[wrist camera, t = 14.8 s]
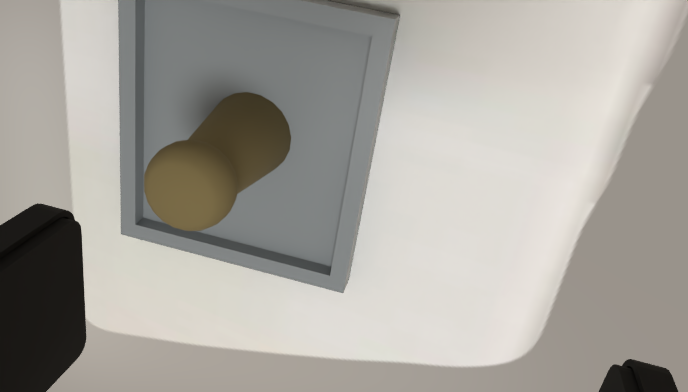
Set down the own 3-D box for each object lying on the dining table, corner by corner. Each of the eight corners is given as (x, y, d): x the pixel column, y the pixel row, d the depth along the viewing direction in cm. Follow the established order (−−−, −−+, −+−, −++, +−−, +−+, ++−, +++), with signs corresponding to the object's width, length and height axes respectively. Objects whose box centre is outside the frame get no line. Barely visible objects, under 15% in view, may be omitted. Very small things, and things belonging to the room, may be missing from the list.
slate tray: (134, -39, 39) (118, -37, 38) (400, 14, 37) (395, 19, 35) (134, 222, 48) (121, 234, 47) (348, 278, 46) (343, 293, 44)
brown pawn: (202, 155, 43) (118, 223, 34) (219, 79, 41) (133, 128, 31) (278, 186, 43) (216, 263, 33) (301, 111, 40) (241, 171, 31)
